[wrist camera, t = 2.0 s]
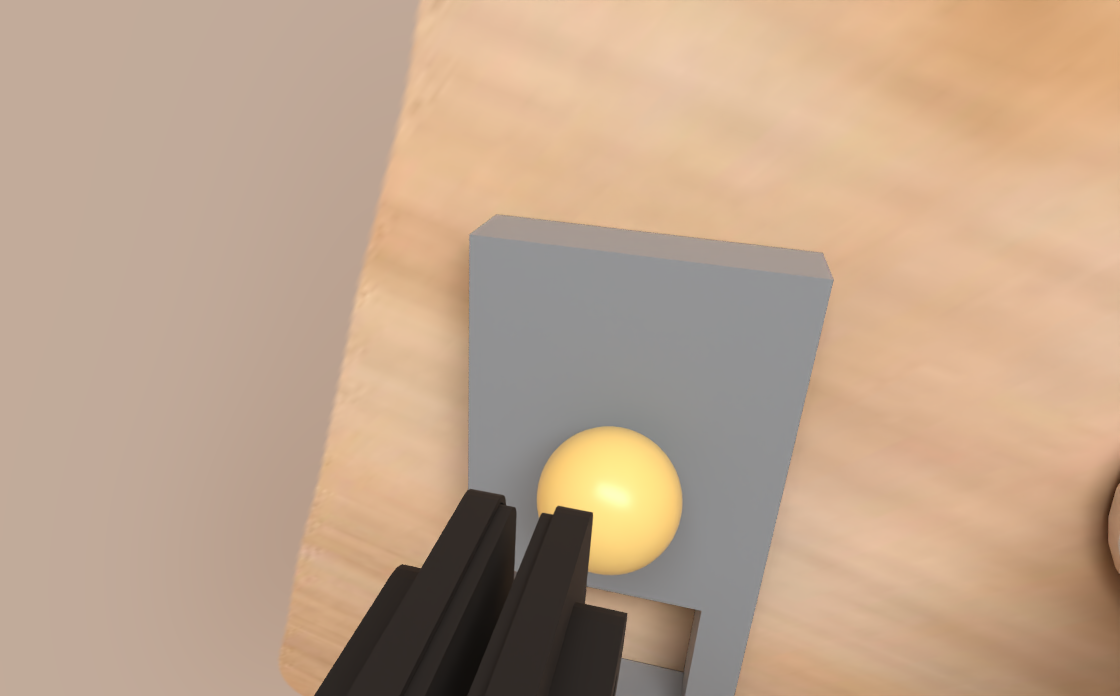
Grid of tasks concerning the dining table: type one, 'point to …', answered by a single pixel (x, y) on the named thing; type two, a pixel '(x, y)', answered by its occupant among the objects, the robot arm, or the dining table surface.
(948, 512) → the dining table surface
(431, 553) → the robot arm
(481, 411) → the board
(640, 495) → the ball
